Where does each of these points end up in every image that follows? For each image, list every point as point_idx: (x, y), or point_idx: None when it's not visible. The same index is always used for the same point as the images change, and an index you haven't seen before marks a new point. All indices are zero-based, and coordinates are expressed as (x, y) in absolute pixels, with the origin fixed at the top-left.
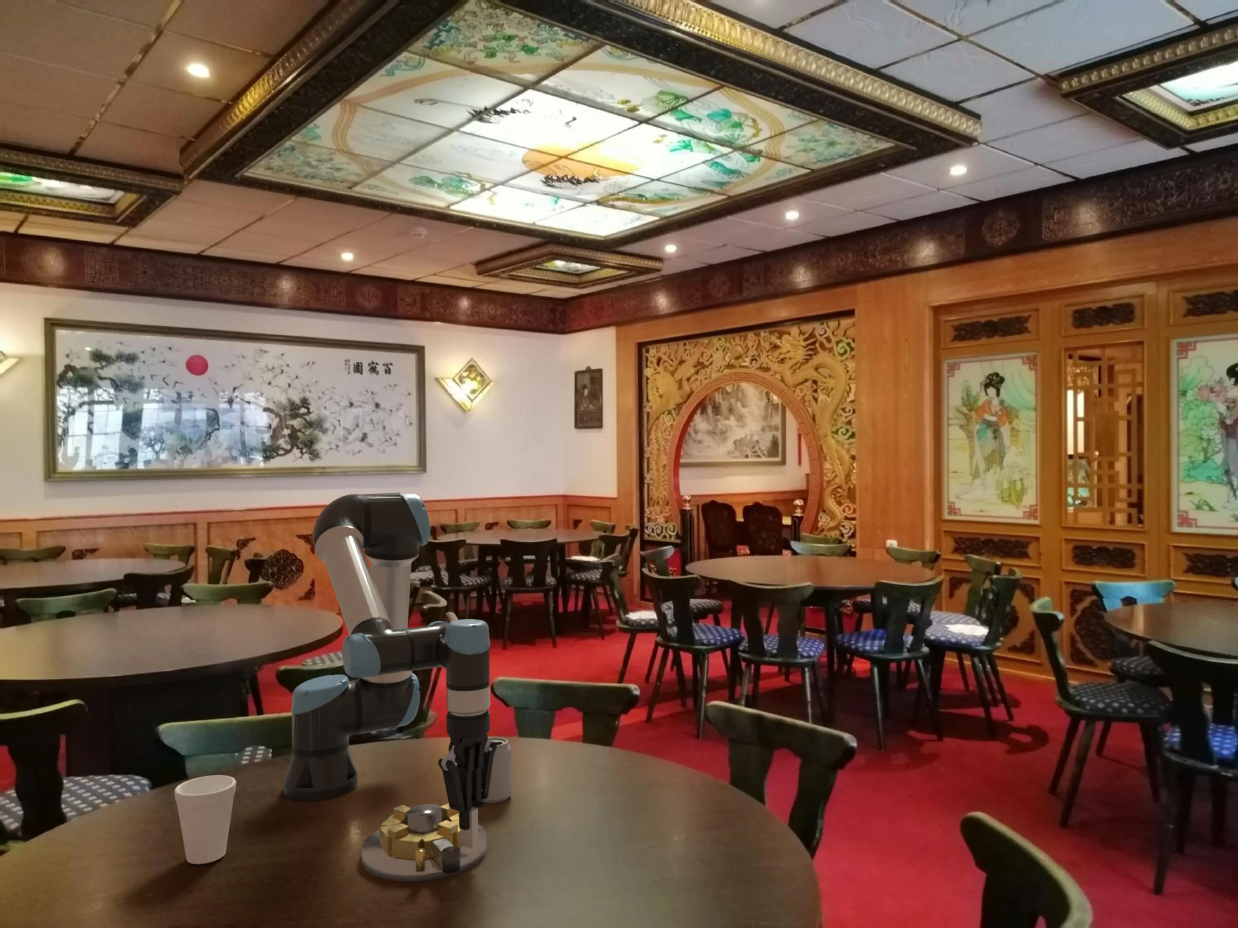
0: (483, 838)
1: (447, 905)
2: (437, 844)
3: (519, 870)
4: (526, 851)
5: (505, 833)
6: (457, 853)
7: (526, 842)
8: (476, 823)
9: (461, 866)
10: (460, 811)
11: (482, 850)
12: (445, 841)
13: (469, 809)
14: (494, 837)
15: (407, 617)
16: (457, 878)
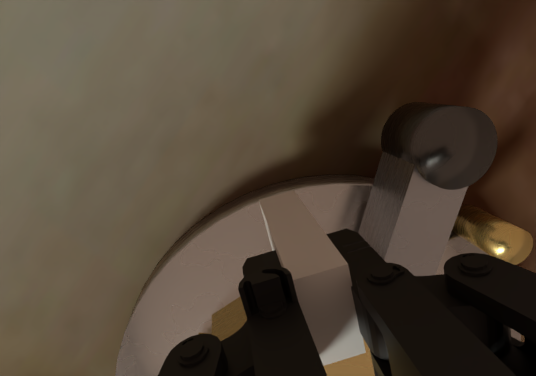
0: (166, 284)
1: (490, 6)
2: (434, 253)
3: (161, 29)
4: (46, 145)
5: (35, 320)
6: (452, 107)
7: (4, 210)
8: (286, 235)
9: (326, 179)
10: (474, 254)
11: (209, 223)
12: (397, 256)
13: (383, 265)
14: (88, 317)
15: None
16: (357, 144)
